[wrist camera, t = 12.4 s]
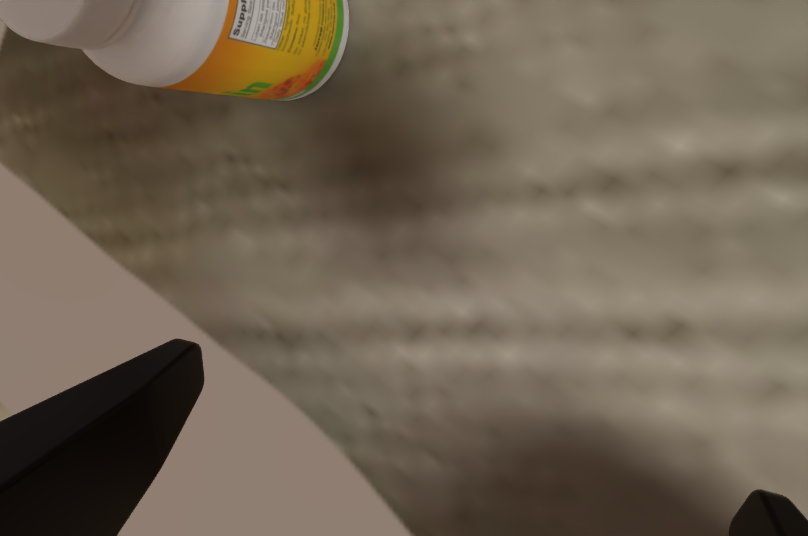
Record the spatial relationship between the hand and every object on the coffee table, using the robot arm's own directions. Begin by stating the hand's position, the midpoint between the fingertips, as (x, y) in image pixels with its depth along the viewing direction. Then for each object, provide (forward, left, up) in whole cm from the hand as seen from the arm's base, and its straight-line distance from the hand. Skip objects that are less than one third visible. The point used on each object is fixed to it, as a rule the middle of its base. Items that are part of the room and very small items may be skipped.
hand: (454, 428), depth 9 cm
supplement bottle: (+10, +9, -11) cm, 17 cm away
